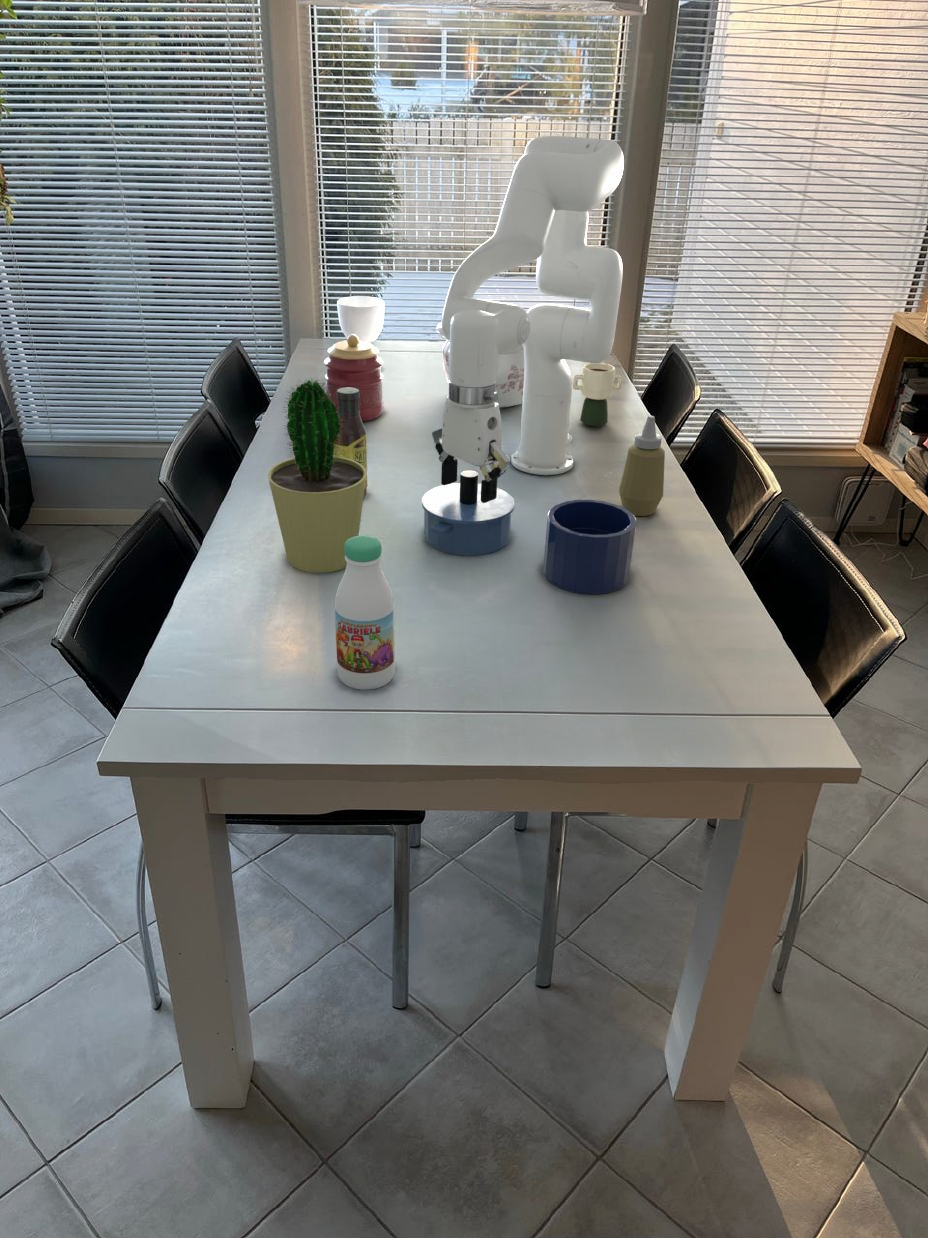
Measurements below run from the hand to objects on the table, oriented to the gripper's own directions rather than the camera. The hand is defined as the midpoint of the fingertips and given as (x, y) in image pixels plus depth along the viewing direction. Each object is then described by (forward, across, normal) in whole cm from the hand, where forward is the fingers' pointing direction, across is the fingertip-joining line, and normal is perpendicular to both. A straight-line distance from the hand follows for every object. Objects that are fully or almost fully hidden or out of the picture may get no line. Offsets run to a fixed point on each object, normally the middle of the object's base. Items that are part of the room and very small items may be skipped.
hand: (468, 491), depth 163 cm
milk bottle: (+9, -21, +40) cm, 46 cm away
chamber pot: (+8, +48, -56) cm, 75 cm away
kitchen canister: (+8, +62, -25) cm, 67 cm away
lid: (+2, 0, 0) cm, 2 cm away
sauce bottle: (+9, +27, +4) cm, 28 cm away
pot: (+8, -22, -5) cm, 24 cm away
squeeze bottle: (+9, -13, -32) cm, 35 cm away
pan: (+8, 0, 0) cm, 8 cm away
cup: (+8, +86, -47) cm, 99 cm away
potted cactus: (+9, +10, +23) cm, 27 cm away
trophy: (+8, +22, -62) cm, 66 cm away
